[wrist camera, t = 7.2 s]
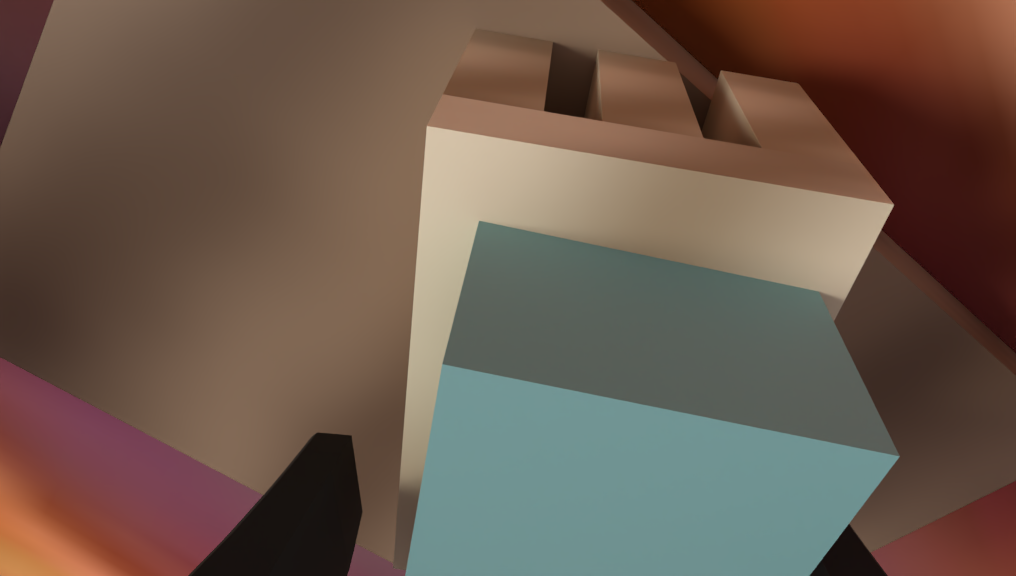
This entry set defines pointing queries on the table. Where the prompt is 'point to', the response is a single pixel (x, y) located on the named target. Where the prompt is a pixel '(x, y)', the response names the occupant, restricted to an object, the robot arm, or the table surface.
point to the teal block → (639, 420)
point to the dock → (353, 238)
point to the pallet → (625, 191)
